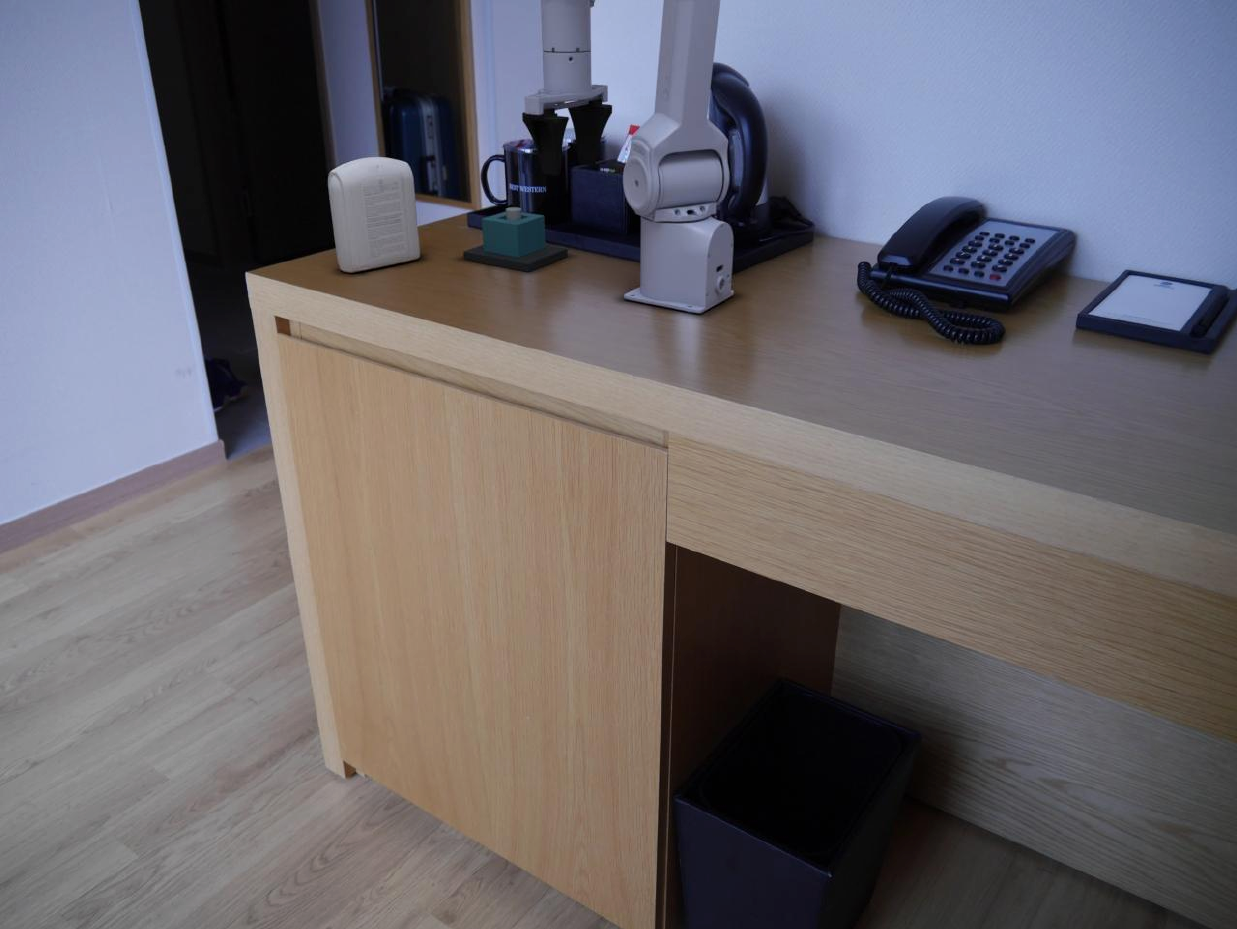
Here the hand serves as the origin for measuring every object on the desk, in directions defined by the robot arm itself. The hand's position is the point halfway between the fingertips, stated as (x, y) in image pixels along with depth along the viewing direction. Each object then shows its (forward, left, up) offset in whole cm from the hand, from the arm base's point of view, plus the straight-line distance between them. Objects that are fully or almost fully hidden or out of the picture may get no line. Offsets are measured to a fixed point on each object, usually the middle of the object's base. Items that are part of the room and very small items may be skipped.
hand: (569, 169), depth 119 cm
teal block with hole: (+2, +9, -8) cm, 12 cm away
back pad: (+2, +9, -9) cm, 13 cm away
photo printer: (+14, +20, -10) cm, 26 cm away
